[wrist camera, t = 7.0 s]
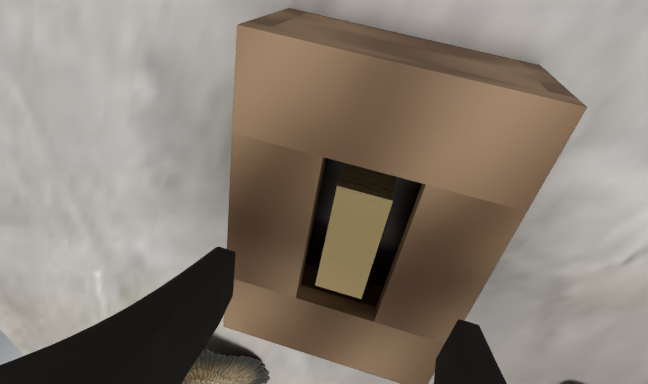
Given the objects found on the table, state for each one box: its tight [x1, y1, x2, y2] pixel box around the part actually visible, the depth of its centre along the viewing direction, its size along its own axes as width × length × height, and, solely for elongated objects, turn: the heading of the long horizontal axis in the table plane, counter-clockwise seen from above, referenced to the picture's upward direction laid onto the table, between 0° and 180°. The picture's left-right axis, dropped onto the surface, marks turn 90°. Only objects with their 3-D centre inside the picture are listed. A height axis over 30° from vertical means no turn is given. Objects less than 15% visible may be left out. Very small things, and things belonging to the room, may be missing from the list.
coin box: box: [224, 8, 587, 384], centre depth 17 cm, size 10×14×5 cm
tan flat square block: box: [315, 163, 396, 299], centre depth 17 cm, size 2×5×5 cm, turn 170°
